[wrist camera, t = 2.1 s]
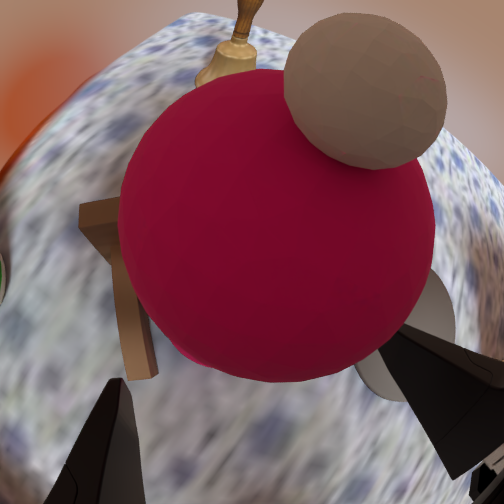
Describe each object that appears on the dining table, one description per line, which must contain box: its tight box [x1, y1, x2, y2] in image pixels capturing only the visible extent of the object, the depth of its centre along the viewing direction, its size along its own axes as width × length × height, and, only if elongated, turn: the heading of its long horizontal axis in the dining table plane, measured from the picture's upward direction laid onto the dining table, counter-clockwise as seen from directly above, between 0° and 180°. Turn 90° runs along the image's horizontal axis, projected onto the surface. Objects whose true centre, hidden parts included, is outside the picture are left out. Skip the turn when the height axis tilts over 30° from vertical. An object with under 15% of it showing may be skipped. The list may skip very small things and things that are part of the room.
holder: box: [78, 197, 158, 381], centre depth 17 cm, size 10×15×7 cm, turn 103°
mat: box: [354, 268, 455, 402], centre depth 22 cm, size 14×14×1 cm
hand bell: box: [195, 0, 264, 88], centre depth 22 cm, size 8×8×16 cm
